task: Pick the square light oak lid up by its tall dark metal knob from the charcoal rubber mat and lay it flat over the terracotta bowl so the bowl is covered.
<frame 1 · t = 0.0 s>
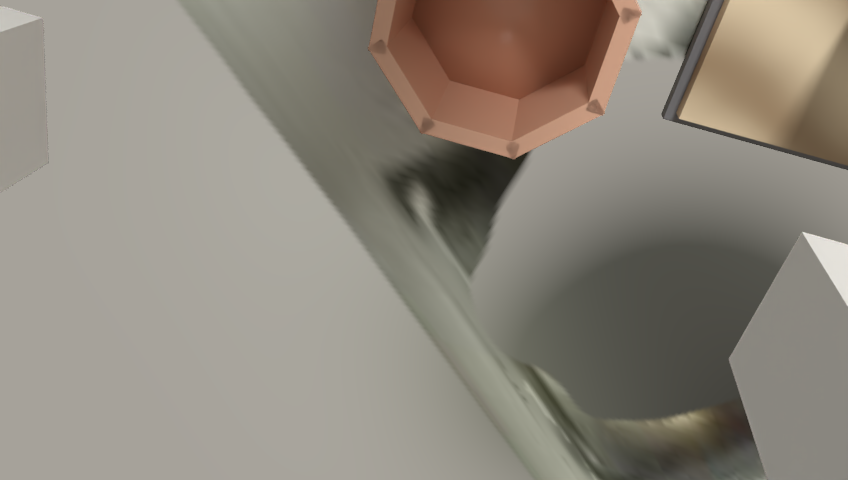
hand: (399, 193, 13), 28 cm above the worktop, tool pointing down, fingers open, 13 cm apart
terracotta bowl: (509, 1, 38), on the worktop
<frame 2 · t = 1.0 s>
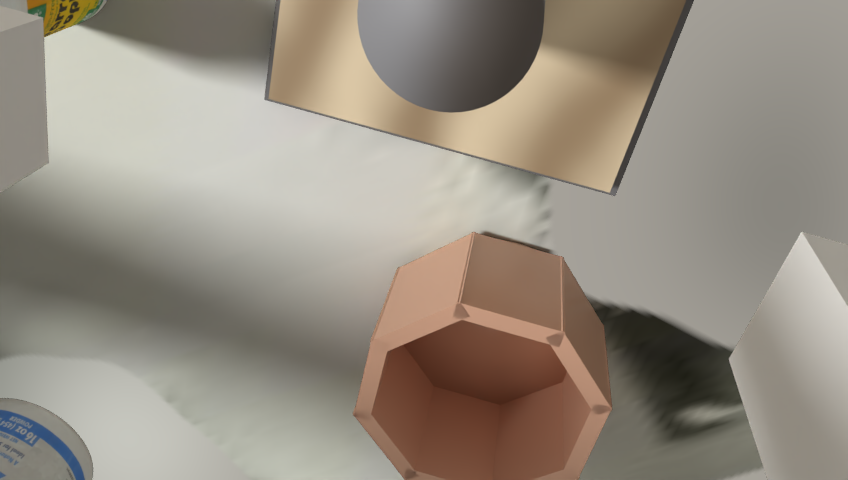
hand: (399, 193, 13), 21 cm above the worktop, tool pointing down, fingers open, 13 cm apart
terracotta bowl: (489, 324, 39), on the worktop
supplement tub: (34, 443, 50), on the worktop
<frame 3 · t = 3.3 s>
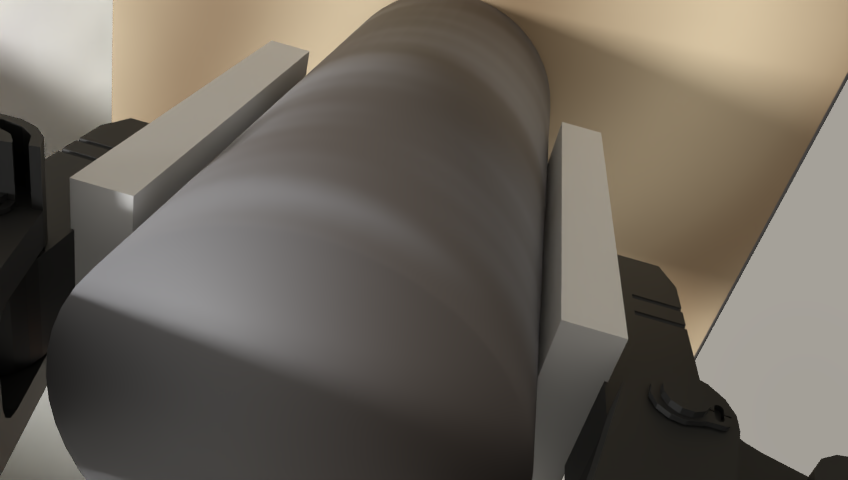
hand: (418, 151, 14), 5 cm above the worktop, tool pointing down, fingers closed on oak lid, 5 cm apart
oak lid: (446, 92, 18), point 1 cm above the worktop, touching gripper, rubber mat
rubber mat: (451, 82, 18), on the worktop
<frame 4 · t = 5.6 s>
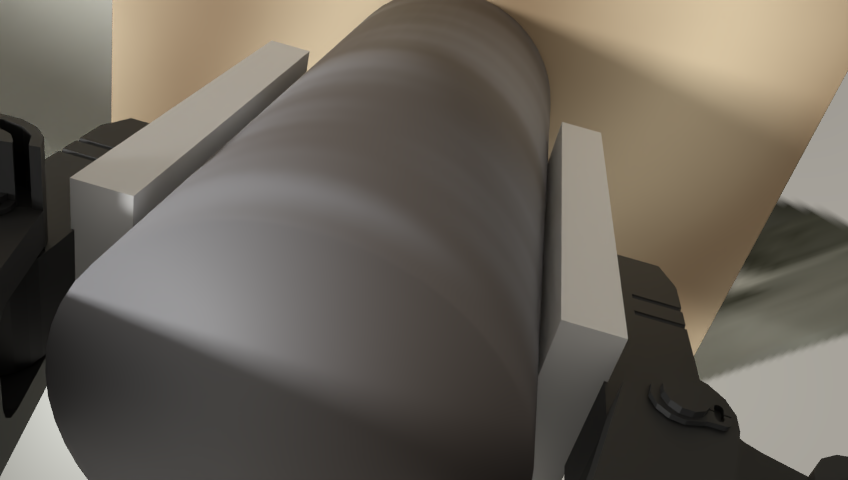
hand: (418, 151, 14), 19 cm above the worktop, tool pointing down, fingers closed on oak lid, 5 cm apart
oak lid: (446, 89, 18), point 15 cm above the worktop, touching gripper
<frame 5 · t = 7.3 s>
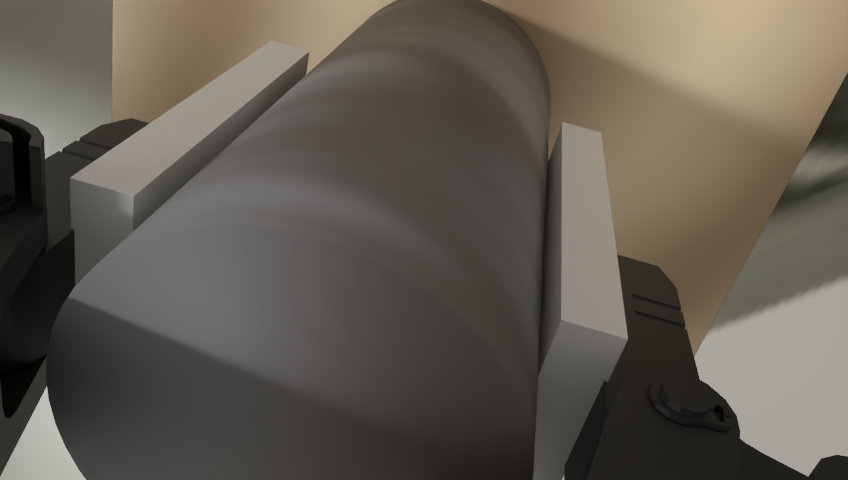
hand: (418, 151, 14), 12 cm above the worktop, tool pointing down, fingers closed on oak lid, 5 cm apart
oak lid: (446, 91, 18), point 9 cm above the worktop, touching gripper
when the fingers open (12 cm above the worktop, at t = 8.0 s): oak lid drops 1 cm, resting on terracotta bowl.
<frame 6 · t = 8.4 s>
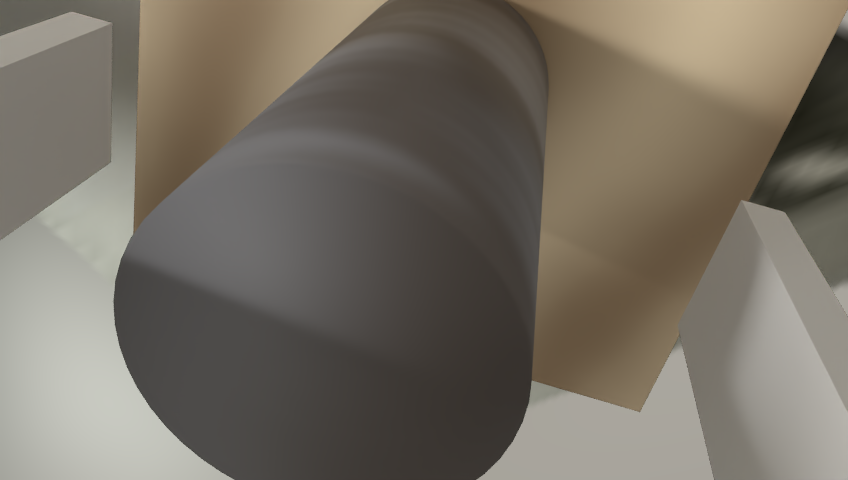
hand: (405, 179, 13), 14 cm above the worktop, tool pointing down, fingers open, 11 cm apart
oak lid: (451, 76, 19), point 7 cm above the worktop, touching terracotta bowl
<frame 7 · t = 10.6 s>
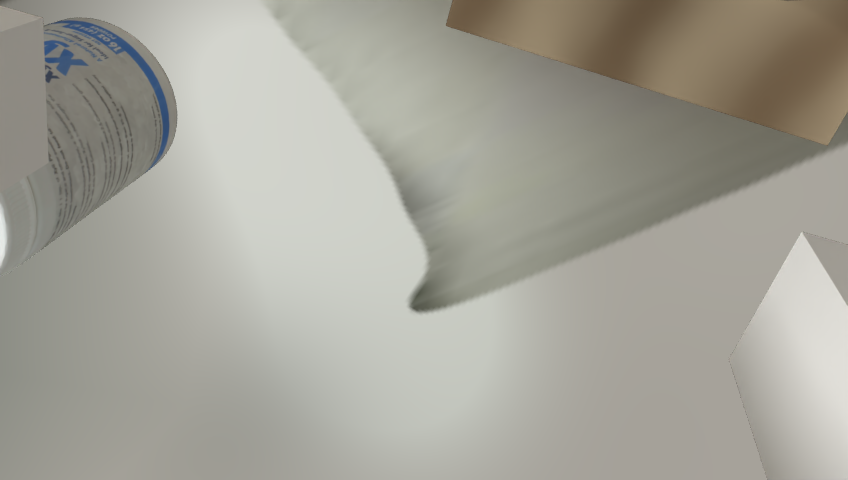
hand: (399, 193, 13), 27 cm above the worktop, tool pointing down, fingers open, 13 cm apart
supplement tub: (109, 96, 43), on the worktop
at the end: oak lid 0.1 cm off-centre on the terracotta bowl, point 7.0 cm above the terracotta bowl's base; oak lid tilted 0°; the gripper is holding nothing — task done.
